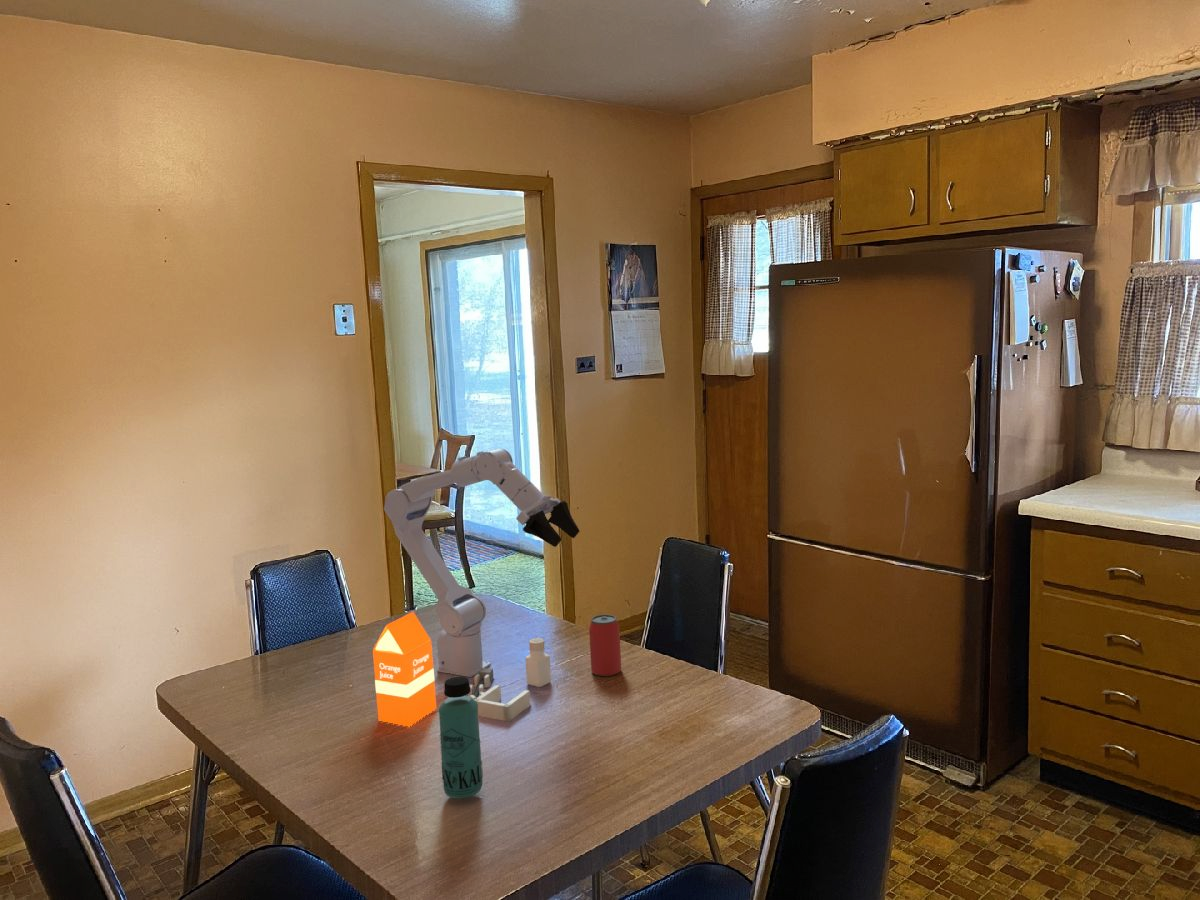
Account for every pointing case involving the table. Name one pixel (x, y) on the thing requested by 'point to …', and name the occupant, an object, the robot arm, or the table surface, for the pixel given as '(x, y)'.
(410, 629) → the orange juice
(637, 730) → the table surface
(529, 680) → the pepper shaker
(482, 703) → the end holder
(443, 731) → the beverage bottle
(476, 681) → the clips
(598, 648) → the beer can
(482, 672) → the cable route
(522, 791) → the table surface
